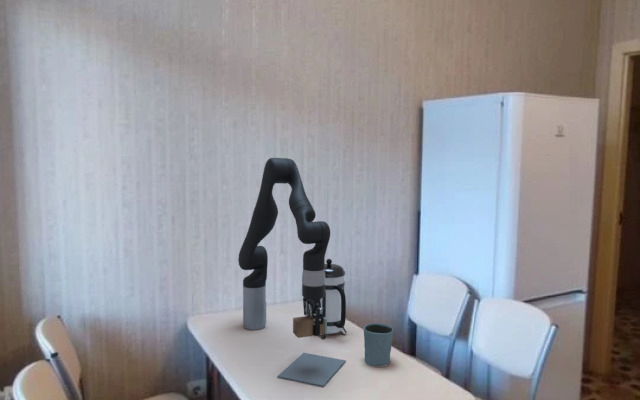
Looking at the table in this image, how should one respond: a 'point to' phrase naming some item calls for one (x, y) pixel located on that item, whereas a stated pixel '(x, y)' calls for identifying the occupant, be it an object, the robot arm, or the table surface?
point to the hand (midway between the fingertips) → (313, 332)
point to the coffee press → (334, 299)
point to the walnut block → (307, 326)
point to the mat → (312, 369)
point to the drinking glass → (377, 344)
